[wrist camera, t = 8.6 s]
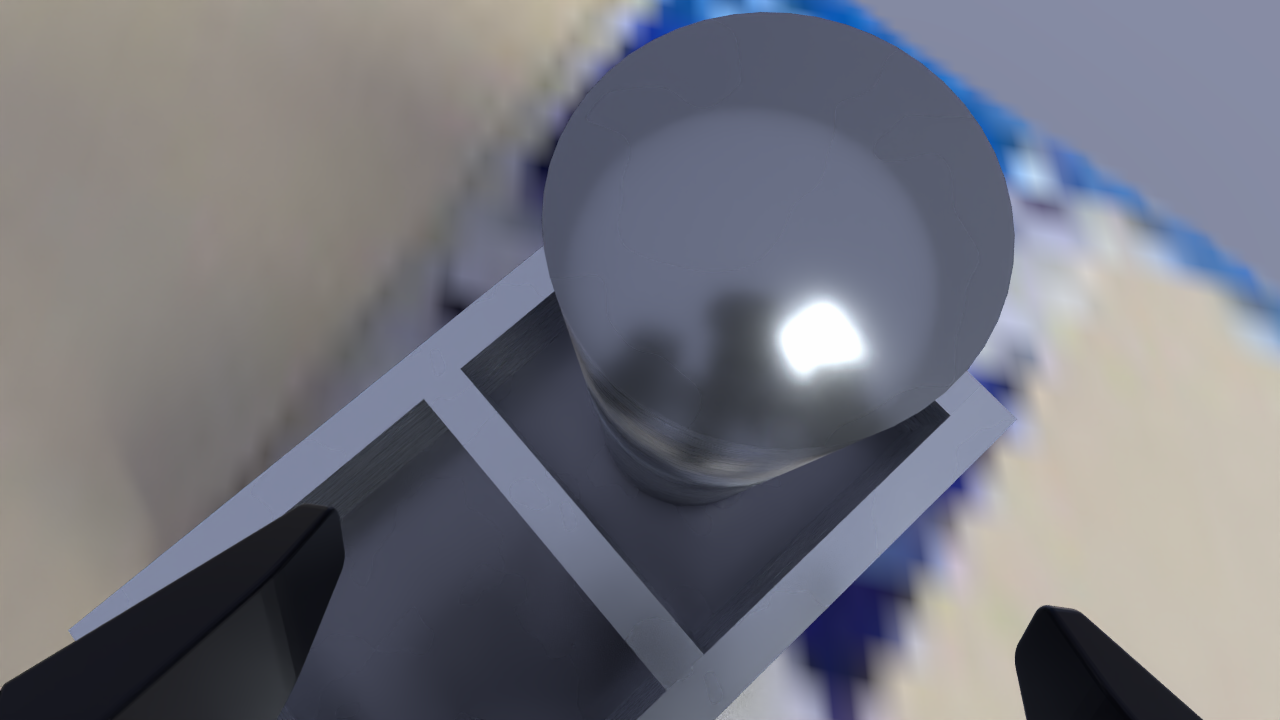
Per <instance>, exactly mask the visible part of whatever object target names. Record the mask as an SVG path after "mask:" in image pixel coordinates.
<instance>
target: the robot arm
mask: <svg viewBox="0 0 1280 720" xmlns="http://www.w3.org/2000/svg"><path fill="white" fill-rule="evenodd" d="M344 560H345V549H344V542H343V536H342V529H341V523H340V516H339V513H338V511H337V509H336V508H334V507H332V506H327V505H320V504H312V503H304V504H301V505H299V506H297V507H295V508H294V509H292V510H291V511H289V512H287V513H286V514H284V515H282V516H281V517H279V518H277V519H276V520H274V521H272V522H271V523H269V524H267V525H266V526H264V527H262V528H261V529H259V530H258V531H256V532H254V533H253V534H251V535H249V536H248V537H246V538H244V539H243V540H241V541H239V542H238V543H236V544H234V545H233V546H231V547H229V548H228V549H226V550H225V551H223V552H221V553H220V554H218V555H216V556H215V557H213V558H211V559H210V560H208V561H206V562H205V563H203V564H201V565H200V566H198V567H196V568H195V569H193V570H192V571H190V572H188V573H187V574H185V575H183V576H182V577H180V578H178V579H177V580H175V581H173V582H172V583H170V584H168V585H167V586H165V587H163V588H162V589H160V590H159V591H157V592H155V593H154V594H152V595H150V596H149V597H147V598H145V599H144V600H142V601H140V602H139V603H137V604H135V605H134V606H132V607H131V608H129V609H127V610H126V611H124V612H122V613H121V614H119V615H117V616H116V617H114V618H112V619H111V620H109V621H107V622H106V623H104V624H102V625H101V626H99V627H98V628H96V629H94V630H93V631H91V632H89V633H88V634H86V635H84V636H83V637H81V638H79V639H78V640H76V641H74V642H73V643H71V644H69V645H68V646H66V647H65V648H63V649H61V650H60V651H58V652H56V653H55V654H53V655H51V656H50V657H48V658H46V659H45V660H43V661H41V662H40V663H38V664H36V665H35V666H33V667H32V668H30V669H28V670H27V671H25V672H23V673H22V674H20V675H18V676H17V677H15V678H13V679H12V680H10V681H8V682H7V683H5V684H4V685H3V687H2V689H1V691H0V720H277V718H278V716H279V714H280V713H281V711H282V709H283V707H284V705H285V703H286V701H287V699H288V697H289V695H290V693H291V691H292V689H293V687H294V685H295V683H296V681H297V679H298V677H299V675H300V672H301V670H302V668H303V665H304V663H305V661H306V658H307V656H308V653H309V651H310V648H311V646H312V643H313V641H314V638H315V636H316V634H317V631H318V629H319V626H320V624H321V621H322V619H323V616H324V614H325V611H326V609H327V606H328V604H329V601H330V599H331V596H332V594H333V591H334V589H335V587H336V584H337V582H338V579H339V577H340V574H341V572H342V569H343V565H344ZM1015 666H1016V672H1017V676H1018V681H1019V686H1020V691H1021V696H1022V700H1023V705H1024V710H1025V715H1026V719H1027V720H1203V719H1201V718H1200V717H1199V716H1198V715H1197V714H1196V713H1195V712H1194V711H1192V710H1191V709H1190V708H1189V707H1188V706H1187V705H1186V704H1184V703H1183V702H1182V701H1181V700H1180V699H1179V698H1178V697H1177V696H1175V695H1174V694H1173V693H1172V692H1171V691H1170V690H1169V689H1167V688H1166V687H1165V686H1164V685H1163V684H1162V683H1161V682H1160V681H1158V680H1157V679H1156V678H1155V677H1154V676H1153V675H1152V674H1150V673H1149V672H1148V671H1147V670H1146V669H1145V668H1144V667H1143V666H1141V665H1140V664H1139V663H1138V662H1137V661H1136V660H1135V659H1133V658H1132V657H1131V656H1130V655H1129V654H1128V653H1127V652H1125V651H1124V650H1123V649H1122V648H1121V647H1120V646H1119V645H1118V644H1116V643H1115V642H1114V641H1113V640H1112V639H1111V638H1110V637H1108V636H1107V635H1106V634H1105V633H1104V632H1103V631H1102V630H1101V629H1099V628H1098V627H1097V626H1096V625H1095V624H1094V623H1093V622H1091V621H1090V620H1089V619H1088V618H1087V617H1086V616H1085V615H1083V614H1082V613H1081V612H1079V611H1077V610H1075V609H1071V608H1064V607H1057V606H1050V605H1045V606H1042V607H1040V608H1039V609H1038V610H1037V611H1036V613H1035V614H1034V616H1033V618H1032V620H1031V622H1030V623H1029V625H1028V627H1027V629H1026V630H1025V632H1024V634H1023V636H1022V638H1021V639H1020V641H1019V643H1018V645H1017V648H1016V652H1015Z"/></svg>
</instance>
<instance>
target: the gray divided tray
mask: <svg viewBox="0 0 1280 720" xmlns="http://www.w3.org/2000/svg"><path fill="white" fill-rule="evenodd" d="M1016 420H1017V419H1016V418H1015V417H1014V416H1013V415H1012V414H1011V413H1010V412H1009V411H1008V410H1007V409H1006V408H1005V407H1004V406H1003V405H1002V404H1001V403H1000V402H999V401H998V400H997V399H996V398H995V397H994V396H992V395H991V394H990V393H989V392H988V391H987V390H986V389H985V388H984V387H983V386H982V385H981V384H980V383H979V382H978V381H977V380H976V379H975V378H974V377H973V376H972V375H971V374H970V373H969V372H968V371H966V372H965V373H964V374H963V375H962V376H961V377H960V378H959V379H958V380H957V381H956V382H955V383H954V384H953V385H952V386H951V387H950V388H949V389H948V390H947V391H946V392H945V393H944V394H943V395H941V396H940V397H939V398H937V399H936V400H935V401H933V402H932V403H931V404H929V405H928V406H927V407H925V408H924V409H923V410H922V411H920V412H918V413H917V414H915V415H913V416H911V417H909V418H908V419H906V420H904V421H902V422H900V423H899V424H897V425H895V426H893V427H891V428H889V429H886V430H884V431H882V432H879V433H877V434H875V435H872V436H870V437H868V438H865V439H863V440H861V441H858V442H856V443H854V444H852V445H849V446H847V447H845V448H842V449H840V450H838V451H835V452H833V453H831V454H828V455H826V456H824V457H821V458H819V459H817V460H814V461H812V462H810V463H807V464H805V465H803V466H800V467H798V468H796V469H793V470H791V471H789V472H787V473H784V474H782V475H780V476H777V477H775V478H773V479H770V480H768V481H766V482H763V483H761V484H759V485H756V486H754V487H752V488H749V489H747V490H745V491H742V492H740V493H738V494H735V495H733V496H731V497H728V498H726V499H724V500H721V501H718V502H716V503H711V504H707V505H700V506H680V505H674V504H669V503H666V502H663V501H660V500H657V499H655V498H653V497H651V496H649V495H647V494H646V493H644V492H642V491H641V490H639V489H638V488H637V487H636V486H634V485H633V484H632V483H631V482H630V481H629V480H628V479H627V478H626V477H625V476H624V475H623V474H622V472H621V471H620V469H619V468H618V467H617V465H616V464H615V462H614V460H613V458H612V456H611V454H610V451H609V449H608V446H607V443H606V440H605V437H604V434H603V431H602V428H601V425H600V423H599V420H598V417H597V414H596V411H595V408H594V405H593V402H592V399H591V396H590V393H589V390H588V388H587V385H586V382H585V379H584V376H583V373H582V370H581V367H580V364H579V361H578V358H577V355H576V352H575V350H574V347H573V344H572V341H571V338H570V335H569V332H568V329H567V326H566V323H565V320H564V317H563V315H562V312H561V309H560V306H559V303H558V300H557V297H556V294H555V291H554V288H553V285H552V282H551V279H550V276H549V271H548V267H547V262H546V257H545V253H544V246H542V247H541V248H540V249H539V250H537V251H536V252H535V253H534V254H532V255H531V256H530V257H529V258H528V259H526V260H525V261H524V262H523V263H521V264H520V265H519V266H518V267H516V268H515V269H514V270H513V271H511V272H510V273H509V274H508V275H507V276H505V277H504V278H503V279H502V280H500V281H499V282H498V283H497V284H495V285H494V286H493V287H492V288H490V289H489V290H488V291H487V292H486V293H484V294H483V295H482V296H481V297H479V298H478V299H477V300H476V301H474V302H473V303H472V304H471V305H469V306H468V307H467V308H466V309H465V310H463V311H462V312H461V313H460V314H458V315H457V316H456V317H455V318H453V319H452V320H451V321H450V322H448V323H447V324H446V325H445V326H444V327H442V328H441V329H440V330H439V331H437V332H436V333H435V334H434V335H432V336H431V337H430V338H429V339H427V340H426V341H425V342H424V343H423V344H421V345H420V346H419V347H418V348H416V349H415V350H414V351H413V352H411V353H410V354H409V355H408V356H406V357H405V358H404V359H403V360H402V361H400V362H399V363H398V364H397V365H395V366H394V367H393V368H392V369H390V370H389V371H388V372H387V373H385V374H384V375H383V376H382V377H380V378H379V379H378V380H377V381H376V382H374V383H373V384H372V385H371V386H369V387H368V388H367V389H366V390H364V391H363V392H362V393H361V394H359V395H358V396H357V397H356V398H355V399H353V400H352V401H351V402H350V403H348V404H347V405H346V406H345V407H343V408H342V409H341V410H340V411H338V412H337V413H336V414H335V415H334V416H332V417H331V418H330V419H329V420H327V421H326V422H325V423H324V424H322V425H321V426H320V427H319V428H317V429H316V430H315V431H314V432H313V433H311V434H310V435H309V436H308V437H306V438H305V439H304V440H303V441H301V442H300V443H299V444H298V445H296V446H295V447H294V448H293V449H292V450H290V451H289V452H288V453H287V454H285V455H284V456H283V457H282V458H280V459H279V460H278V461H277V462H275V463H274V464H273V465H272V466H271V467H269V468H268V469H267V470H266V471H264V472H263V473H262V474H261V475H259V476H258V477H257V478H256V479H254V480H253V481H252V482H251V483H250V484H248V485H247V486H246V487H245V488H243V489H242V490H241V491H240V492H238V493H237V494H236V495H235V496H233V497H232V498H231V499H230V500H229V501H227V502H226V503H225V504H224V505H222V506H221V507H220V508H219V509H217V510H216V511H215V512H214V513H212V514H211V515H210V516H209V517H208V518H206V519H205V520H204V521H203V522H201V523H200V524H199V525H198V526H196V527H195V528H194V529H193V530H191V531H190V532H189V533H188V534H187V535H185V536H184V537H183V538H182V539H180V540H179V541H178V542H177V543H175V544H174V545H173V546H172V547H170V548H169V549H168V550H167V551H166V552H164V553H163V554H162V555H161V556H159V557H158V558H157V559H156V560H154V561H153V562H152V563H151V564H149V565H148V566H147V567H146V568H145V569H143V570H142V571H141V572H140V573H138V574H137V575H136V576H135V577H133V578H132V579H131V580H130V581H128V582H127V583H126V584H125V585H124V586H122V587H121V588H120V589H119V590H117V591H116V592H115V593H114V594H112V595H111V596H110V597H109V598H107V599H106V600H105V601H104V602H103V603H101V604H100V605H99V606H98V607H96V608H95V609H94V610H93V611H91V612H90V613H89V614H88V615H86V616H85V617H84V618H83V619H81V620H80V621H79V622H78V623H77V624H75V625H74V626H73V627H72V628H70V629H69V630H68V631H69V632H70V634H71V635H72V637H73V638H74V640H75V641H76V640H78V639H79V638H81V637H83V636H84V635H86V634H88V633H89V632H91V631H93V630H94V629H96V628H98V627H99V626H101V625H102V624H104V623H106V622H107V621H109V620H111V619H112V618H114V617H116V616H117V615H119V614H121V613H122V612H124V611H126V610H127V609H129V608H131V607H132V606H134V605H135V604H137V603H139V602H140V601H142V600H144V599H145V598H147V597H149V596H150V595H152V594H154V593H155V592H157V591H159V590H160V589H162V588H163V587H165V586H167V585H168V584H170V583H172V582H173V581H175V580H177V579H178V578H180V577H182V576H183V575H185V574H187V573H188V572H190V571H192V570H193V569H195V568H196V567H198V566H200V565H201V564H203V563H205V562H206V561H208V560H210V559H211V558H213V557H215V556H216V555H218V554H220V553H221V552H223V551H225V550H226V549H228V548H229V547H231V546H233V545H234V544H236V543H238V542H239V541H241V540H243V539H244V538H246V537H248V536H249V535H251V534H253V533H254V532H256V531H258V530H259V529H261V528H262V527H264V526H266V525H267V524H269V523H271V522H272V521H274V520H276V519H277V518H279V517H281V516H282V515H284V514H286V513H287V512H289V511H291V510H292V509H294V508H295V507H297V506H299V505H301V504H304V503H312V504H320V505H327V506H332V507H334V508H336V509H337V511H338V513H339V516H340V523H341V529H342V536H343V542H344V549H345V560H344V565H343V569H342V572H341V574H340V577H339V579H338V582H337V584H336V587H335V589H334V591H333V594H332V596H331V599H330V601H329V604H328V606H327V609H326V611H325V614H324V616H323V619H322V621H321V624H320V626H319V629H318V631H317V634H316V636H315V638H314V641H313V643H312V646H311V648H310V651H309V653H308V656H307V658H306V661H305V663H304V665H303V668H302V670H301V672H300V675H299V677H298V679H297V681H296V683H295V685H294V687H293V689H292V691H291V693H290V695H289V697H288V699H287V701H286V703H285V705H284V707H283V709H282V711H281V713H280V714H279V716H278V718H277V720H715V719H716V718H717V717H718V716H719V715H720V714H721V713H722V712H723V711H724V710H725V709H726V708H727V707H728V706H729V705H730V704H731V703H732V702H733V701H734V700H735V699H736V698H737V697H738V696H739V695H740V694H741V693H742V692H743V691H744V690H745V689H746V688H747V687H748V686H749V685H750V684H751V683H752V682H753V681H754V680H755V679H756V678H757V677H758V676H759V675H760V674H761V673H762V672H763V671H764V670H765V669H766V668H767V667H768V666H769V665H770V664H771V663H772V662H773V661H774V660H775V659H776V658H777V657H778V656H779V655H780V654H781V653H782V652H783V651H784V650H785V649H786V648H787V647H788V646H789V645H790V644H791V643H792V642H793V641H794V640H795V639H796V638H797V637H798V636H799V635H800V634H801V633H802V632H803V631H804V630H805V629H806V628H807V627H808V626H809V625H810V624H811V623H812V622H813V621H814V620H815V619H816V618H817V617H819V616H820V615H821V614H822V613H823V612H824V611H825V610H826V609H827V608H828V607H829V606H830V605H831V604H832V603H833V602H834V601H835V600H836V599H837V598H838V597H839V596H840V595H841V594H842V593H843V592H844V591H845V590H846V589H847V588H848V587H849V586H850V585H851V584H852V583H853V582H854V581H855V580H856V579H857V578H858V577H859V576H860V575H861V574H862V573H863V572H864V571H865V570H866V569H867V568H868V567H869V566H870V565H871V564H872V563H873V562H874V561H875V560H876V559H877V558H878V557H879V556H880V555H881V554H882V553H883V552H884V551H885V550H886V549H887V548H888V547H889V546H890V545H891V544H892V543H893V542H894V541H895V540H896V539H897V538H898V537H899V536H900V535H901V534H902V533H903V532H904V531H905V530H906V529H907V528H908V527H909V526H910V525H911V524H912V523H913V522H914V521H915V520H916V519H917V518H918V517H919V516H920V515H921V514H922V513H923V512H924V511H925V510H926V509H927V508H928V507H929V506H930V505H931V504H932V503H933V502H934V501H935V500H936V499H937V498H938V497H939V496H940V495H941V494H942V493H943V492H944V491H945V490H946V489H947V488H948V487H950V486H951V485H952V484H953V483H954V482H955V481H956V480H957V479H958V478H959V477H960V476H961V475H962V474H963V473H964V472H965V471H966V470H967V469H968V468H969V467H970V466H971V465H972V464H973V463H974V462H975V461H976V460H977V459H978V458H979V457H980V456H981V455H982V454H983V453H984V452H985V451H986V450H987V449H988V448H989V447H990V446H991V445H992V444H993V443H994V442H995V441H996V440H997V439H998V438H999V437H1000V436H1001V435H1002V434H1003V433H1004V432H1005V431H1006V430H1007V429H1008V428H1009V427H1010V426H1011V425H1012V424H1013V423H1014V422H1015V421H1016Z"/></svg>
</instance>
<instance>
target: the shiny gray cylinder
mask: <svg viewBox="0 0 1280 720" xmlns="http://www.w3.org/2000/svg"><path fill="white" fill-rule="evenodd" d="M542 231H543V246H544V253H545V257H546V262H547V267H548V271H549V276H550V279H551V282H552V285H553V288H554V291H555V294H556V297H557V300H558V303H559V306H560V309H561V312H562V315H563V317H564V320H565V323H566V326H567V329H568V332H569V335H570V338H571V341H572V344H573V347H574V350H575V352H576V355H577V358H578V361H579V364H580V367H581V370H582V373H583V376H584V379H585V382H586V385H587V388H588V390H589V393H590V396H591V399H592V402H593V405H594V408H595V411H596V414H597V417H598V420H599V423H600V425H601V428H602V431H603V434H604V437H605V440H606V443H607V446H608V449H609V451H610V454H611V456H612V458H613V460H614V462H615V464H616V465H617V467H618V468H619V469H620V471H621V472H622V474H623V475H624V476H625V477H626V478H627V479H628V480H629V481H630V482H631V483H632V484H633V485H634V486H636V487H637V488H638V489H639V490H641V491H642V492H644V493H646V494H647V495H649V496H651V497H653V498H655V499H657V500H660V501H663V502H666V503H669V504H674V505H680V506H700V505H707V504H711V503H716V502H718V501H721V500H724V499H726V498H728V497H731V496H733V495H735V494H738V493H740V492H742V491H745V490H747V489H749V488H752V487H754V486H756V485H759V484H761V483H763V482H766V481H768V480H770V479H773V478H775V477H777V476H780V475H782V474H784V473H787V472H789V471H791V470H793V469H796V468H798V467H800V466H803V465H805V464H807V463H810V462H812V461H814V460H817V459H819V458H821V457H824V456H826V455H828V454H831V453H833V452H835V451H838V450H840V449H842V448H845V447H847V446H849V445H852V444H854V443H856V442H858V441H861V440H863V439H865V438H868V437H870V436H872V435H875V434H877V433H879V432H882V431H884V430H886V429H889V428H891V427H893V426H895V425H897V424H899V423H900V422H902V421H904V420H906V419H908V418H909V417H911V416H913V415H915V414H917V413H918V412H920V411H922V410H923V409H924V408H925V407H927V406H928V405H929V404H931V403H932V402H933V401H935V400H936V399H937V398H939V397H940V396H941V395H943V394H944V393H945V392H946V391H947V390H948V389H949V388H950V387H951V386H952V385H953V384H954V383H955V382H956V381H957V380H958V379H959V378H960V377H961V376H962V375H963V374H964V373H965V372H966V371H967V370H968V368H969V367H970V366H971V364H972V363H973V361H974V360H975V359H976V357H977V356H978V355H979V353H980V352H981V351H982V349H983V348H984V346H985V344H986V343H987V341H988V339H989V337H990V335H991V333H992V331H993V329H994V327H995V325H996V324H997V322H998V319H999V317H1000V314H1001V311H1002V308H1003V305H1004V302H1005V299H1006V297H1007V294H1008V289H1009V284H1010V279H1011V274H1012V268H1013V260H1014V237H1015V235H1014V225H1013V214H1012V206H1011V202H1010V198H1009V193H1008V189H1007V185H1006V181H1005V178H1004V175H1003V173H1002V170H1001V167H1000V165H999V162H998V160H997V157H996V154H995V152H994V150H993V148H992V147H991V145H990V143H989V141H988V139H987V137H986V136H985V134H984V132H983V130H982V128H981V127H980V125H979V124H978V122H977V121H976V120H975V118H974V117H973V116H972V114H971V113H970V111H969V110H968V109H967V107H966V106H965V104H964V103H963V102H962V101H961V100H960V99H959V98H958V97H957V96H956V95H955V94H954V93H953V91H952V90H951V89H950V88H949V87H948V86H947V85H946V84H945V83H944V82H943V81H942V80H941V79H939V78H938V77H937V76H936V75H935V74H934V73H932V72H931V71H930V70H929V69H928V68H927V67H925V66H924V65H923V64H922V63H920V62H919V61H917V60H916V59H914V58H913V57H911V56H910V55H908V54H907V53H905V52H904V51H902V50H901V49H899V48H897V47H896V46H894V45H892V44H890V43H888V42H886V41H884V40H882V39H880V38H878V37H876V36H874V35H872V34H869V33H867V32H864V31H862V30H859V29H856V28H854V27H851V26H848V25H846V24H842V23H838V22H834V21H830V20H826V19H823V18H819V17H813V16H806V15H799V14H792V13H768V12H758V13H746V14H733V15H728V16H723V17H718V18H713V19H708V20H703V21H700V22H697V23H694V24H691V25H688V26H685V27H682V28H678V29H676V30H674V31H672V32H670V33H667V34H665V35H663V36H661V37H659V38H657V39H654V40H652V41H651V42H649V43H647V44H646V45H644V46H643V47H641V48H639V49H638V50H636V51H634V52H633V53H631V54H630V55H628V56H627V57H626V58H625V59H623V60H622V61H621V62H620V63H618V64H617V65H616V66H615V67H613V68H612V69H611V70H610V71H608V72H607V73H606V74H605V75H604V76H603V77H602V79H601V80H600V81H599V82H598V83H597V84H596V85H595V86H594V87H593V88H592V89H591V90H590V91H589V92H588V94H587V95H586V96H585V98H584V99H583V100H582V102H581V103H580V105H579V106H578V107H577V109H576V110H575V111H574V113H573V114H572V116H571V118H570V120H569V122H568V123H567V125H566V127H565V129H564V131H563V133H562V135H561V136H560V138H559V141H558V144H557V146H556V149H555V152H554V154H553V157H552V160H551V162H550V166H549V170H548V175H547V179H546V184H545V189H544V196H543V209H542Z"/></svg>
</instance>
